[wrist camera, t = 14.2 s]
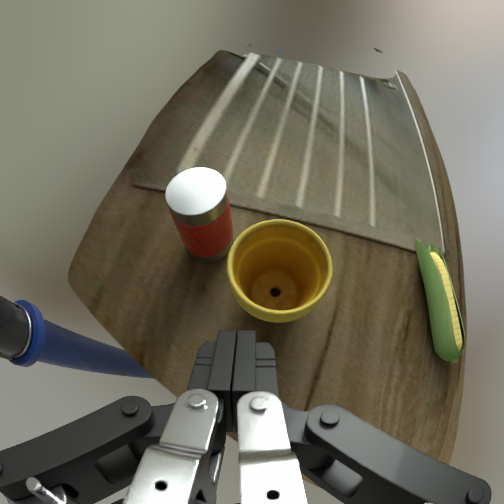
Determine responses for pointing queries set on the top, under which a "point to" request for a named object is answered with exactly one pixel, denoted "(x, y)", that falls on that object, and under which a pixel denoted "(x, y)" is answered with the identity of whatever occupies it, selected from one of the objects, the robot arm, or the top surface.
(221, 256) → the tin can
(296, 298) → the flower pot
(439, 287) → the edible corn
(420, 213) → the top surface
